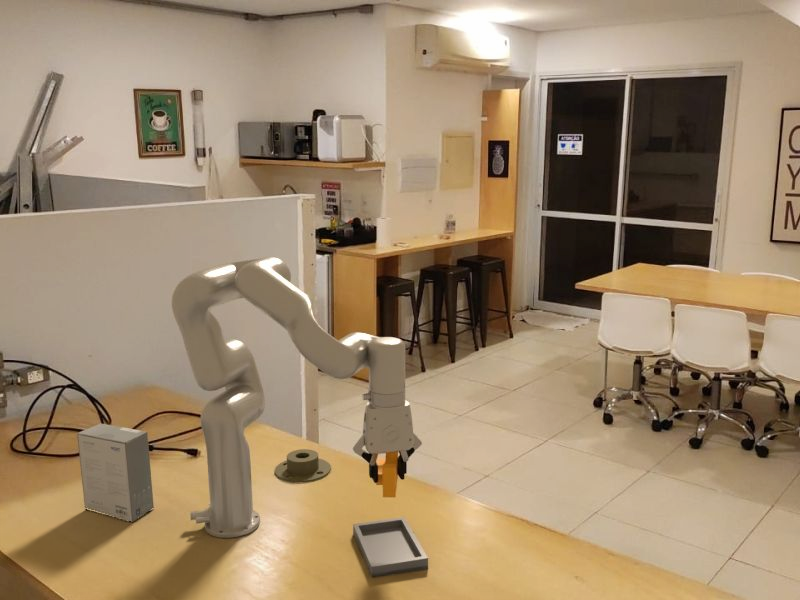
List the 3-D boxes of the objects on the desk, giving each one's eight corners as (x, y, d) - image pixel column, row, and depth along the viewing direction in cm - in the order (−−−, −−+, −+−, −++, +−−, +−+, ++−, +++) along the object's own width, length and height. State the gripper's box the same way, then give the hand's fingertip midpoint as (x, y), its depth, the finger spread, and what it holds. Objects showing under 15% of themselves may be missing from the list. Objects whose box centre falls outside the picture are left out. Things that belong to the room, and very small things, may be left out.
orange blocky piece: (378, 471, 165) (378, 444, 164) (398, 471, 165) (398, 444, 163) (374, 497, 153) (373, 467, 152) (395, 497, 153) (395, 468, 152)
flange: (297, 440, 212) (262, 459, 199) (341, 451, 205) (308, 471, 192) (298, 456, 213) (263, 476, 200) (341, 467, 206) (308, 488, 193)
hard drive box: (155, 509, 182) (149, 431, 177) (132, 523, 175) (125, 443, 171) (107, 497, 188) (100, 421, 184) (83, 510, 181) (75, 432, 177)
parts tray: (371, 578, 152) (371, 566, 152) (353, 534, 169) (353, 524, 169) (428, 568, 156) (428, 558, 155) (404, 527, 173) (404, 517, 172)
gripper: (350, 407, 150) (352, 491, 153) (432, 399, 154) (431, 481, 158) (343, 395, 157) (344, 476, 160) (421, 387, 161) (421, 466, 165)
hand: (387, 477), depth 159 cm, fingers closed on orange blocky piece, 5 cm apart
